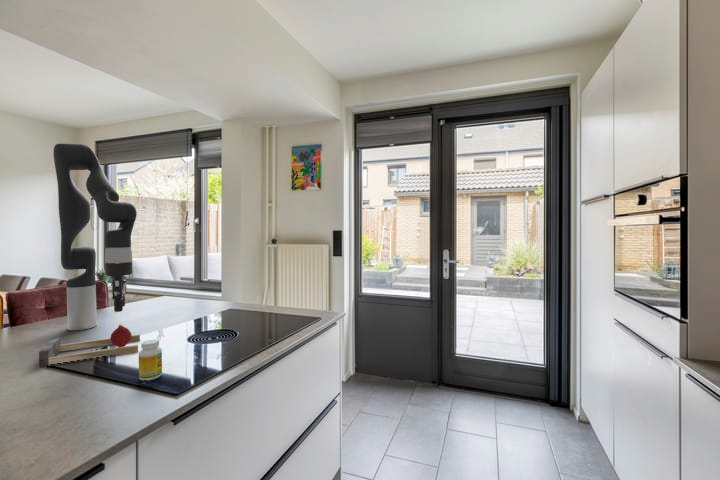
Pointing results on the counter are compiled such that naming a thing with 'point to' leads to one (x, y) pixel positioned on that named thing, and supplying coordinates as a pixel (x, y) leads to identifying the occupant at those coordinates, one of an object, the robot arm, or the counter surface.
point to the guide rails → (54, 347)
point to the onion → (120, 336)
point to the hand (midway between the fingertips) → (119, 309)
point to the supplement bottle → (150, 360)
